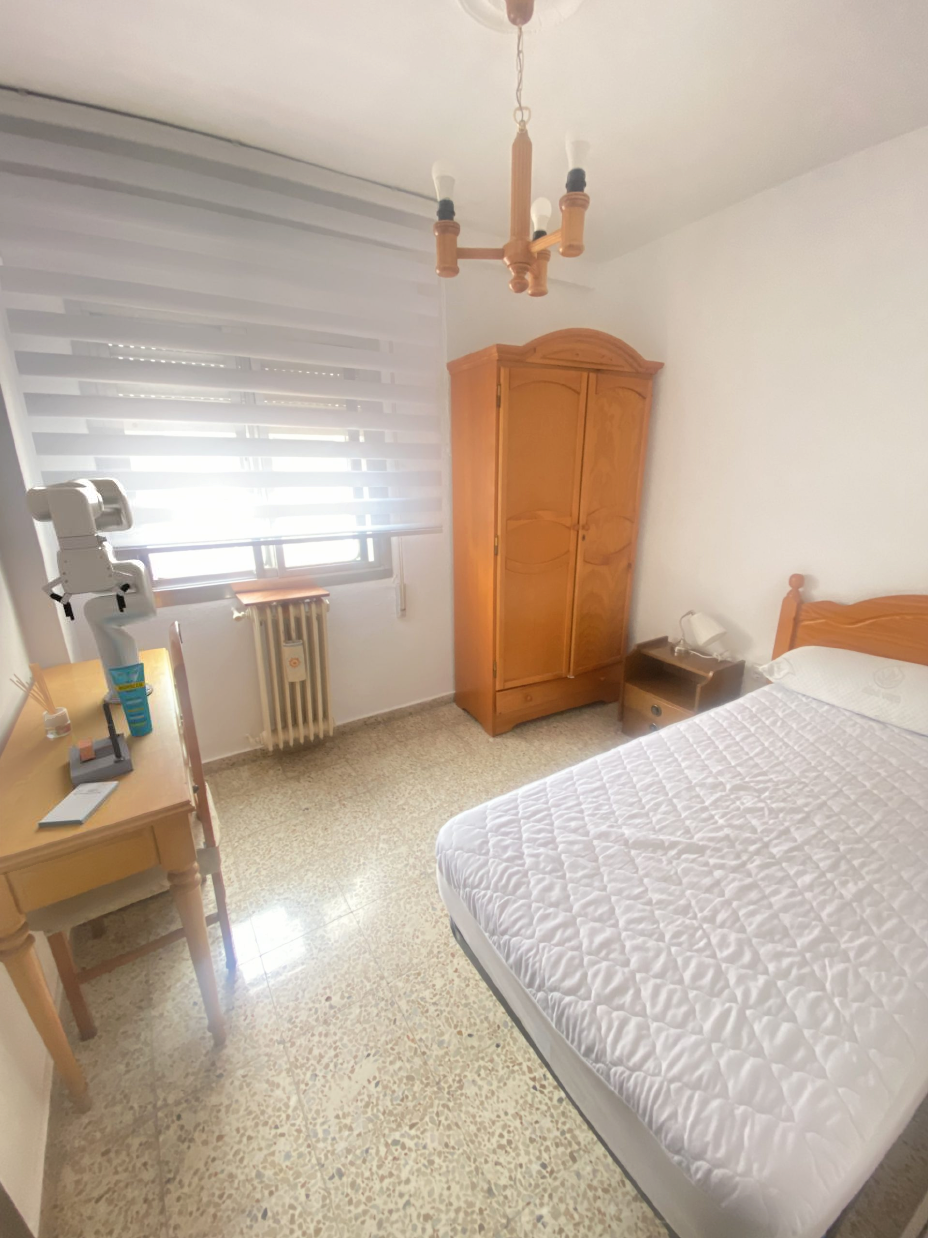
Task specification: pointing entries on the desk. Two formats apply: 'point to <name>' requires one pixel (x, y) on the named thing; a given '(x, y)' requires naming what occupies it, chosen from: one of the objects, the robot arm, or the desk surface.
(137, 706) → the tube
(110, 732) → the cord front
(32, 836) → the desk surface
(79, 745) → the block
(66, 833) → the desk surface
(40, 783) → the desk surface
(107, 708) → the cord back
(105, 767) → the grey switch base
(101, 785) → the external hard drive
